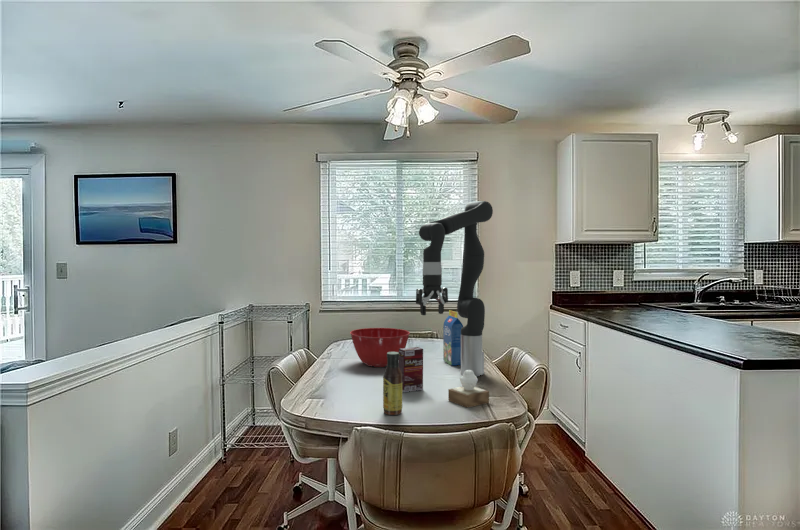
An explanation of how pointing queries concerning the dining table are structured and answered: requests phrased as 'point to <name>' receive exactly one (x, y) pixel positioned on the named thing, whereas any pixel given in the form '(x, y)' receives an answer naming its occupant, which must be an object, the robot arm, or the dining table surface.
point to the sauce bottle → (392, 385)
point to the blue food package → (452, 339)
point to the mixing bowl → (378, 344)
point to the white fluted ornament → (468, 380)
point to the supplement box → (411, 368)
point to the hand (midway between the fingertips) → (432, 314)
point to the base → (468, 396)
